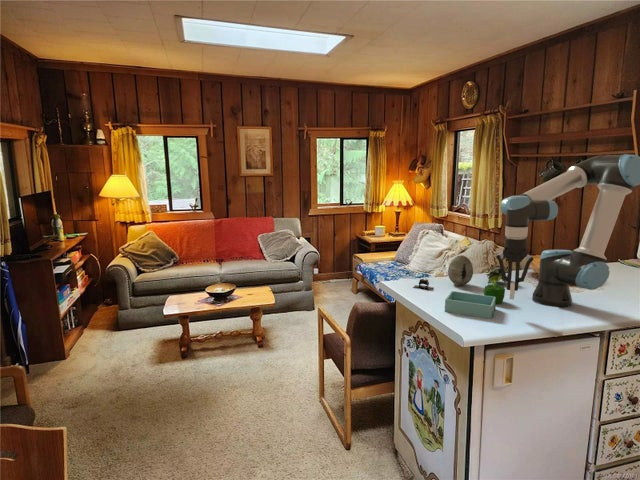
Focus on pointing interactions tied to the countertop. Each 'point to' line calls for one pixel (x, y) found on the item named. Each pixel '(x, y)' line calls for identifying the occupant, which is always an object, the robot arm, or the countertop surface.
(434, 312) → the countertop surface
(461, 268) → the decorative egg
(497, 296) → the bell pepper
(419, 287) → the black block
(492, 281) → the green leafy plant
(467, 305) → the green planter box
